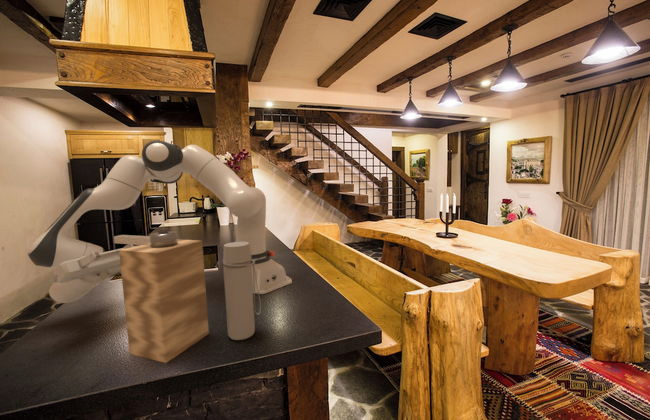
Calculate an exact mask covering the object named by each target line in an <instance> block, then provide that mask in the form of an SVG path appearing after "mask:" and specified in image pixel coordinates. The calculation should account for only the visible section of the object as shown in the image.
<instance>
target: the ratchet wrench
mask: <svg viewBox="0 0 650 420" xmlns="http://www.w3.org/2000/svg"><path fill="white" fill-rule="evenodd" d="M177 239H178V232H177V231H171V230H170V231H169V228H167V227H163V228H158V229H157V232H154V233H153V232H152V233H150V234H149V235H130V234H119V235H115V236H113V243H114V244H121V245H128V244H133V246H139V245H149V246H151V247H152V248H164V247H170V246H175V245H177V244H178V241H177Z"/></svg>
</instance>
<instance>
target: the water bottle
mask: <svg viewBox="0 0 650 420" xmlns="http://www.w3.org/2000/svg"><path fill="white" fill-rule="evenodd" d="M222 250H223V251H222V253H223V254H222V255H223V256H222V265H223V282H224V296H225V297H224V298H225V312H226V327H227V336H228V337H229V338H230V339H231V340H233V341H243V340H246V339H249V338H251V337H252V336H254V334H255V332H256V326H255V325H256V323H255V322H256V321H255V315H261V311H262V302H261V297H260V294H259V290H258V294H257V295H258V300H259V312H257V311H256V293H255V285H254V293H253V286H252V269H251V265H253V282H254V272H255V268H254V266H255V260H251V251H250V245H249V243H248V242H236V241H233V242H227V243H225V244H224V245H223V249H222ZM251 261H252V263H250V262H251ZM255 278H256V273H255ZM256 283H257V279H256ZM257 289H258V285H257Z"/></svg>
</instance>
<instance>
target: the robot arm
mask: <svg viewBox="0 0 650 420" xmlns="http://www.w3.org/2000/svg"><path fill="white" fill-rule="evenodd" d="M183 173H186V174H187V175H190V176H192V178H194V179H195V180H196V181H197V182H198V183H200V184H202V186H203V187H205V188H206V189H207V190H209V191H210V192H211V193H212V194H214V195H215V196H216V198H218V200H219V201H221V203H222V204H223V205H224V206H225V207H226V208H227V209H228V210H229V212H230V213H231V214H232V215H233V216H234V217H236V218H237V220H236V221H237V222H236V229H235V242H248V243H249V245H250V251H251V260H255V266H254V268H255V272H254V282H253V265H251V269H252V286H253V294H254V285H255V294H256V295H258V290H259V295H264V294H267V293H270V292H273V291H276V290H279V289H281V288H283V287H285V286H288V285H290V284H293V280H292V278H291V277H289V276H287V273H286V270H285V268H284V266H283V265H282V264H280V263H278V262H276V261H275V260H273V259H271V257H273V258H274V257H275V256H276V252H275V251H272V250H267V245H266V244H267V243H266V218H267V217H266V215H267V214H266V213H267V200H266V199H267V198H266V195H265V193H264V192H263V191H262V190H261V189H259V188H257V187H254V186H249V185H248V184H246V183H245V181H243V180H242V179H241V178H240V177H239V176H238V175H237V174H236V172H235V171H234V170H232V169H231V168H230V167H229V166H228V165H227V164H225V163H224V162H222V160H220V159H219V158H217V157H216V156H215V155H213V154H212V153H211V152H209V151H207V150H206V149H204V148H202V147H201V146H198V145H196V144H189V145H185V146H184V148H182V149H181V147H180V146H179V145H177V144H174V143H169V142H167V141H163V140H151V141H149V142H147V143H146V144H145V145H144V146H143V148H142V150H141V157H139V156H135V155H129V154H127V155H123V156H122V157H120V158H119V160H117V161H116V163H115V164H114V166H113V167H112V168H111V169H110V171H109V172H108V174H107V175H106V177H105V178H104V180H103V182H101V184H99V185H97V186H96V187H94V188H86V189H85V190H83V191H82V192H81V193H79V194H78V195H77V197H76V198H74V200H73V201H72V202H71V203H70V204H69V205H68V206H67V207H66V208H65V209H64V210H63V212H62V213H61V214H60V215H59V216H58V217H57V218H56V219H55V220H54V222H53V223H51V225H50V226H49V227H48V228H47V229H46V230H45V231H44V232H43V233H42V234H41V235H40V236H38V237H37V238H36V239H35V240H34V241H33V243H31V245H30V247H29V249H28V253H27V255H28V258H29V259H30V261H31V262H32V264H33V265H35V266H38V267H44V268H52V269H54V270H53V275H52V276H51V277H50V278H49V279H48V282H49V283H52V284H51V286H50V287H49V290H48V294H49V297H50V298H52V300H53V301H56V302H58V303H62V304H68V303H69V304H70V303H73V302H76V301H78V300H79V299H81V298H82V297H83V296H86V294H88V293H89V292H90V291H91V290H92V289H94V288H95V287H97V286H99V284H102V283H103V282H105V281H107V280H108V279H111V278H113V277H115V276H117V275H119V274H121V264H120V255H119V250H122V249H126V248H131V247H135V246H136V245H134V244H125V245H124V246H123V247H122V248H117V249H113V250H110V251H109V250H108V251H106V250H105V249H104V247H102V246H100V245H96V244H93V243H91V242H86V241H83V240H80V239H76V238H73V237H69V236H67V235H66V234H67V233H68V231H69V230H70V229H71V228H72V227H73V226H74V225H75V223H76V222H77V221H78V220H79V219H80V218H81V216H82V215H84V214H85V213H87V212H88V211H91V210H106V211H107V210H109V211H114V210H115V211H120V210H126V209H129V208H130V207H132V206H133V205H134V204H135V203H136V201H137V200H139V199H138V198H139V197H140V195H141V193H142V191H143V189H144V187H145V186H146V184H147V183H148V182H149V181H151V182H152V183H159V184H169V185H171V184H176V183H177V182H178V181H180V180H181V178H182V176H183ZM250 263H252V261H251V262H250ZM255 273H256V278H255ZM256 279H257V283H256ZM257 285H258V289H257Z"/></svg>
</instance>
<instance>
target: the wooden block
mask: <svg viewBox="0 0 650 420" xmlns="http://www.w3.org/2000/svg"><path fill="white" fill-rule="evenodd" d="M177 241H178V244H177V245H175V246H170V247H164V248H152V247H151V246H149V245H134V246H135V247H131V248H126V249H122V250H119V255H120V264H121V273H120V274H121V283H122V293H123V303H124V313H125V322H126V331H127V333H126V334H127V342H128V351H129V355H133V356H136V357H141V358H144V359H148V360H153V361H156V362H160V363H164V364H167V363H168V362H170V361H171V360H173V359H174V358H176V357H177V356H178V355H180V354H182V353H183V352H184V351H186V350H187V349H189V348H190V347H191V346H194V345H195V344H196V343H198V342H199V341H201V340H202V339H203V338H205V337H206V336H208V335H209V334H210V330H209V318H208V317H209V316H208V304H207V303H208V302H207V301H208V300H207V290H206V286H207V285H206V275H205V274H206V273H205V262H204V261H205V259H204V248H203V247H204V245H203V240H201V239H200V240H198V239H197V240H195V239H194V240H193V239H178V238H177Z"/></svg>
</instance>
